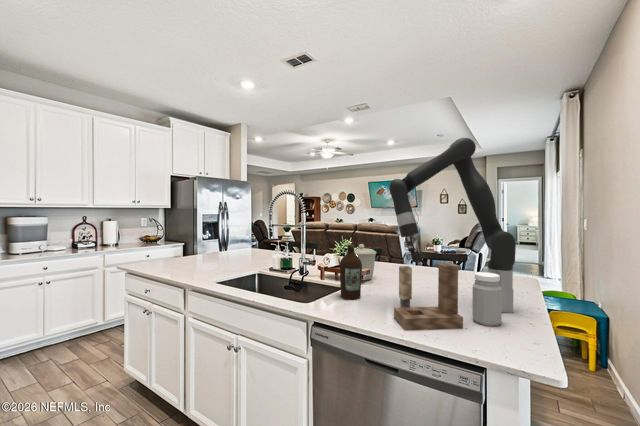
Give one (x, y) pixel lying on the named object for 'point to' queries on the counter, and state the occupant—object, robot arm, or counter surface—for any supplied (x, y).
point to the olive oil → (350, 275)
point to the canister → (366, 259)
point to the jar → (487, 299)
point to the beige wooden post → (405, 286)
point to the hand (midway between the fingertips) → (417, 262)
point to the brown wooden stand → (436, 316)
